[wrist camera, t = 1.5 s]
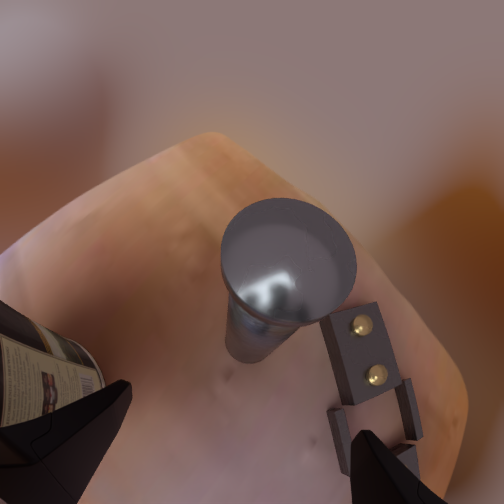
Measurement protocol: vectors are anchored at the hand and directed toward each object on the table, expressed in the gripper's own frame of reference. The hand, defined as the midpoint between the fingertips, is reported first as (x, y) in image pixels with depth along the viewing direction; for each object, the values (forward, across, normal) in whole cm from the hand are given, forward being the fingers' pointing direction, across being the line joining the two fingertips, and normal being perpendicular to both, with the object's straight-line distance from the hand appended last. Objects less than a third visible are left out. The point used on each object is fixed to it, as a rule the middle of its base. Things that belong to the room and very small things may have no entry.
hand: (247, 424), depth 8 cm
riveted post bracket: (+8, -13, +9) cm, 18 cm away
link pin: (+13, 0, +5) cm, 14 cm away
